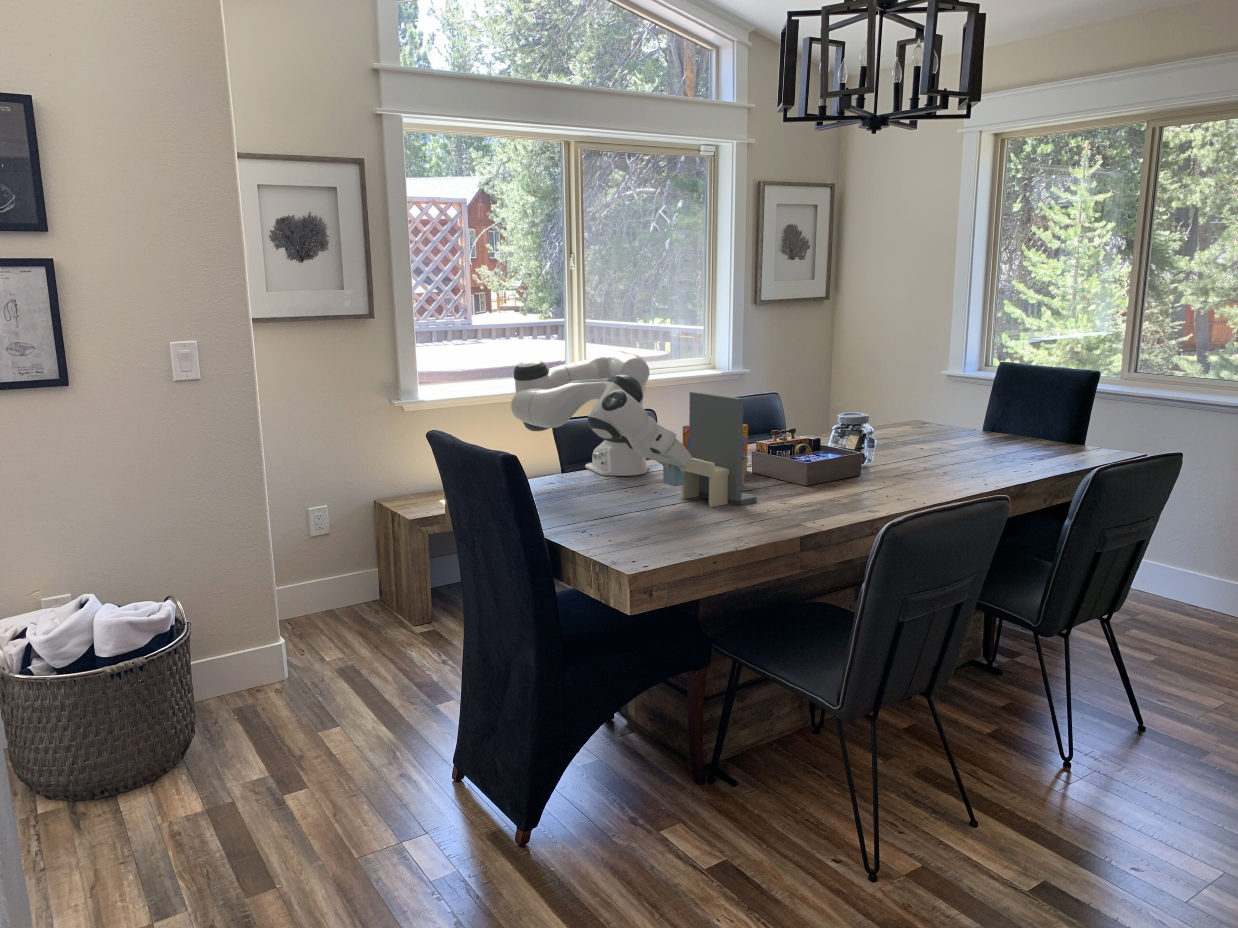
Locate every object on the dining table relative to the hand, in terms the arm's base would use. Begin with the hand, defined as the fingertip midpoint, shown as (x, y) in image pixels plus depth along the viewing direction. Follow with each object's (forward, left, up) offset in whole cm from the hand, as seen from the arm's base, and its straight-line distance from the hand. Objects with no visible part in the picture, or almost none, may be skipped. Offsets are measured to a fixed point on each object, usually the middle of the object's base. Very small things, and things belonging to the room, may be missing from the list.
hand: (675, 468), depth 250 cm
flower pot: (-9, +31, -11) cm, 34 cm away
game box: (-27, +40, -11) cm, 50 cm away
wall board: (0, +15, -11) cm, 19 cm away
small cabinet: (0, -1, -4) cm, 4 cm away
